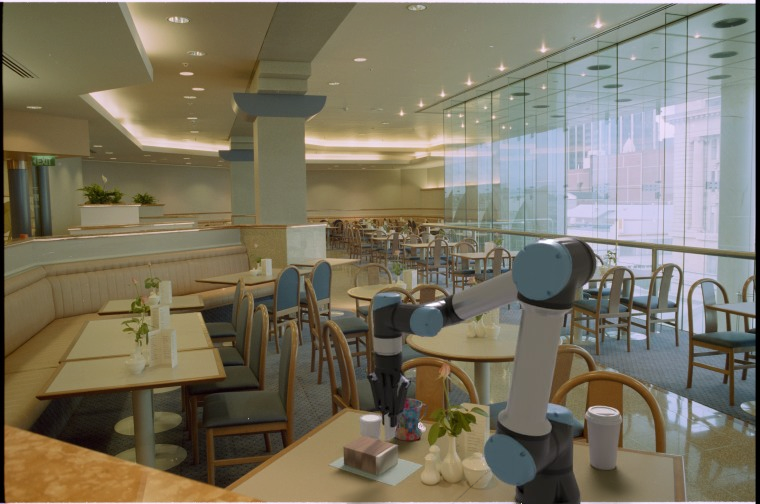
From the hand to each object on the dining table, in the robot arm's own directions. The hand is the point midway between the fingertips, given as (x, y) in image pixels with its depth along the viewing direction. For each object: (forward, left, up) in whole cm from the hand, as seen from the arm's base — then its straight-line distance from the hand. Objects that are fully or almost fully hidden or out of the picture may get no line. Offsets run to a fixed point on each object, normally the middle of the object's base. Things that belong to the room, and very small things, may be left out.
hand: (389, 437), depth 158 cm
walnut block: (0, 0, -6) cm, 6 cm away
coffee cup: (-46, -35, -10) cm, 59 cm away
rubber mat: (+5, 0, -9) cm, 11 cm away
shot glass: (+17, -14, -10) cm, 24 cm away
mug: (+8, -23, -10) cm, 26 cm away
